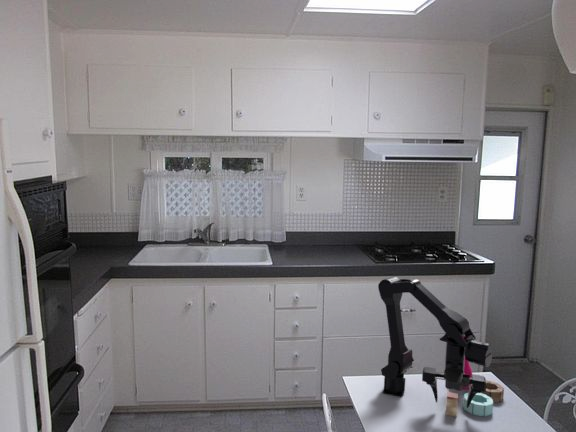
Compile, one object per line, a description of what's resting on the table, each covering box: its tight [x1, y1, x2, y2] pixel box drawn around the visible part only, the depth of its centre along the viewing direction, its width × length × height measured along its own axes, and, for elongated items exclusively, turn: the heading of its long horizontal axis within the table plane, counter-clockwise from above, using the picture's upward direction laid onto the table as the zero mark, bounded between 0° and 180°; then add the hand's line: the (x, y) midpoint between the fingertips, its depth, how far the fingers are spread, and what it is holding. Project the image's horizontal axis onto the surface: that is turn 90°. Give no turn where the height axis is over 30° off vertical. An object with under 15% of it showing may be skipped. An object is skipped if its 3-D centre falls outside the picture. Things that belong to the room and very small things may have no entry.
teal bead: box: [462, 392, 494, 417], centre depth 153 cm, size 9×9×4 cm
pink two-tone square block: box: [445, 391, 459, 417], centre depth 150 cm, size 3×3×6 cm
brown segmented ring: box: [481, 379, 505, 403], centre depth 162 cm, size 9×9×4 cm
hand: (451, 404), depth 150 cm, fingers open, 9 cm apart
